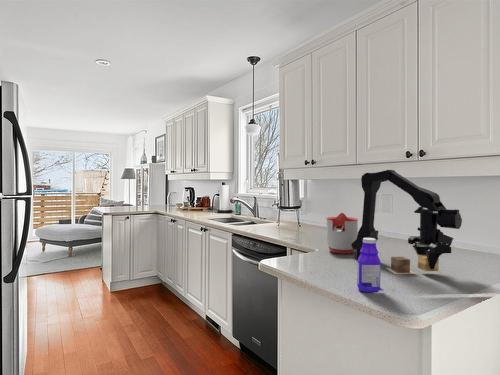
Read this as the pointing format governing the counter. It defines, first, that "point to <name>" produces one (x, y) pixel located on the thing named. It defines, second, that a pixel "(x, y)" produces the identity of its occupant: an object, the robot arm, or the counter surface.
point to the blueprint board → (399, 273)
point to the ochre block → (426, 263)
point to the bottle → (368, 267)
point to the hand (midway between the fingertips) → (427, 267)
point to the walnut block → (400, 264)
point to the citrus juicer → (341, 233)
